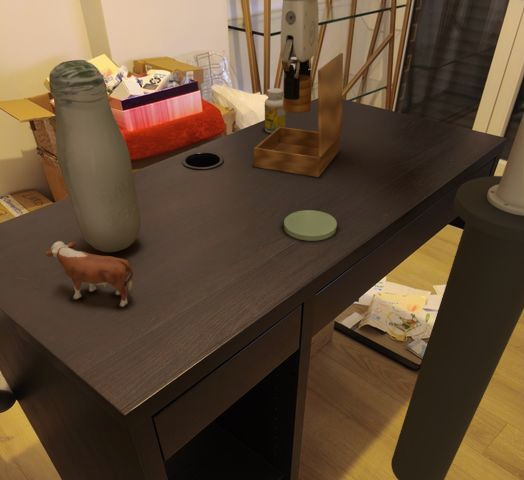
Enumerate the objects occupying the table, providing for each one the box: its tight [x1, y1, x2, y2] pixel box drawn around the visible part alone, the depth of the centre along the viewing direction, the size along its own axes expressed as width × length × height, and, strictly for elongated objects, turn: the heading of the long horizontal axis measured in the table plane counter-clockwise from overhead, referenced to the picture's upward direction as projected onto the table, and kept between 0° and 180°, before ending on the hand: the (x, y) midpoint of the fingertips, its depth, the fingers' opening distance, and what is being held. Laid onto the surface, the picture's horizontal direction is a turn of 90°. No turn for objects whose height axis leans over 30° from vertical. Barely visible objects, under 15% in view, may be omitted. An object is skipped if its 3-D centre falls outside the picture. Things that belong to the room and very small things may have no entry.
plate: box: [283, 209, 338, 242], centre depth 87 cm, size 10×10×1 cm
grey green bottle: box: [48, 59, 142, 253], centre depth 73 cm, size 10×10×28 cm
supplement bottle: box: [264, 87, 287, 134], centre depth 121 cm, size 5×5×10 cm
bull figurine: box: [45, 240, 134, 308], centre depth 70 cm, size 4×13×8 cm, turn 71°
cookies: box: [282, 74, 313, 114], centre depth 101 cm, size 6×6×6 cm
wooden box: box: [253, 126, 341, 178], centre depth 109 cm, size 15×15×4 cm
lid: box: [317, 52, 344, 157], centre depth 100 cm, size 16×15×1 cm
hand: (297, 93), depth 101 cm, fingers closed on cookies, 6 cm apart
